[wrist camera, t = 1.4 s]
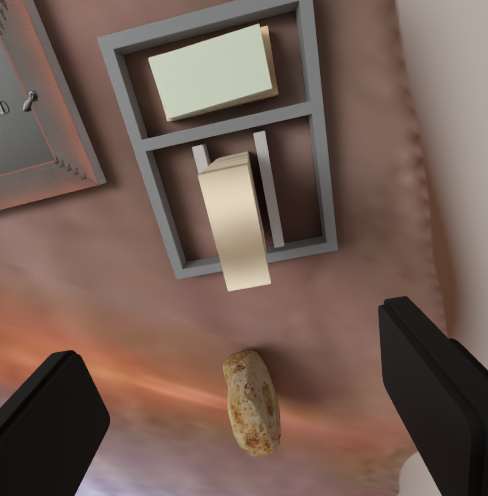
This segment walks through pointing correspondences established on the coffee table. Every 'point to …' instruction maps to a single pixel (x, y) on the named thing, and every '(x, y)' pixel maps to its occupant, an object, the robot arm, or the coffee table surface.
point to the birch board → (236, 221)
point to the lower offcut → (259, 97)
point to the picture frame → (38, 116)
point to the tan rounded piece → (252, 403)
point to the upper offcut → (212, 73)
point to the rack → (226, 123)
